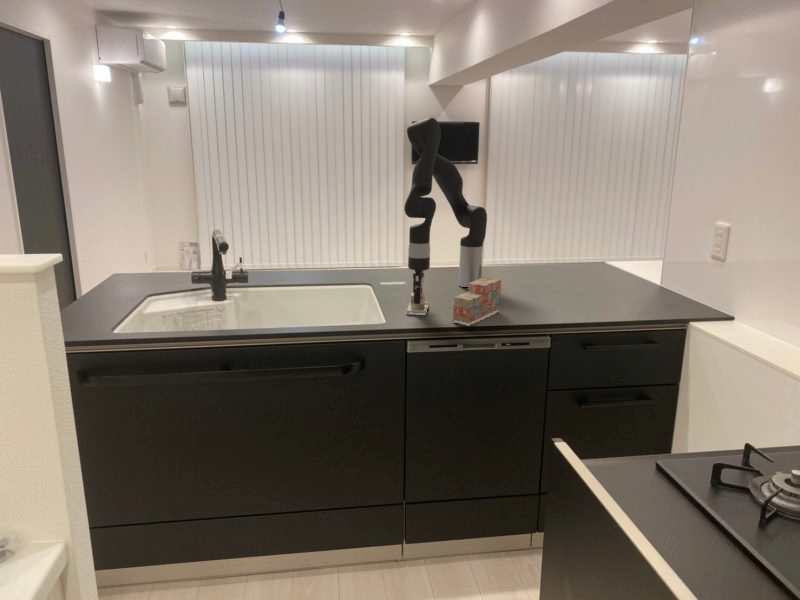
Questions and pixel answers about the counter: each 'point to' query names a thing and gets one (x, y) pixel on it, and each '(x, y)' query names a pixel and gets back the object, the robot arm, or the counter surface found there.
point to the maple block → (418, 306)
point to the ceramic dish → (416, 310)
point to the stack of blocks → (477, 300)
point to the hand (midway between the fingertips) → (418, 300)
